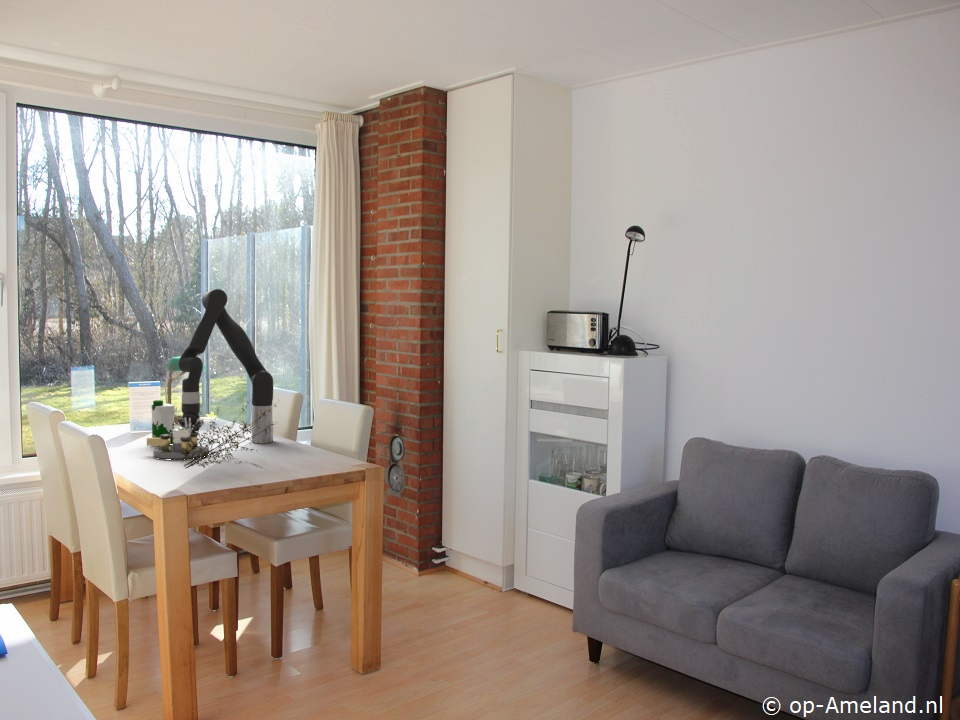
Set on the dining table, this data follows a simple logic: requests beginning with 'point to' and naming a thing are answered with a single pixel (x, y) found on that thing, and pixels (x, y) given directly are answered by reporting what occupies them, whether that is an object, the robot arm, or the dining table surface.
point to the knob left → (185, 444)
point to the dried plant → (221, 443)
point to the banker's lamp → (172, 367)
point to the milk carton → (162, 419)
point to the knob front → (160, 441)
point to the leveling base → (176, 454)
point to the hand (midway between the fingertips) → (191, 440)
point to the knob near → (194, 437)
